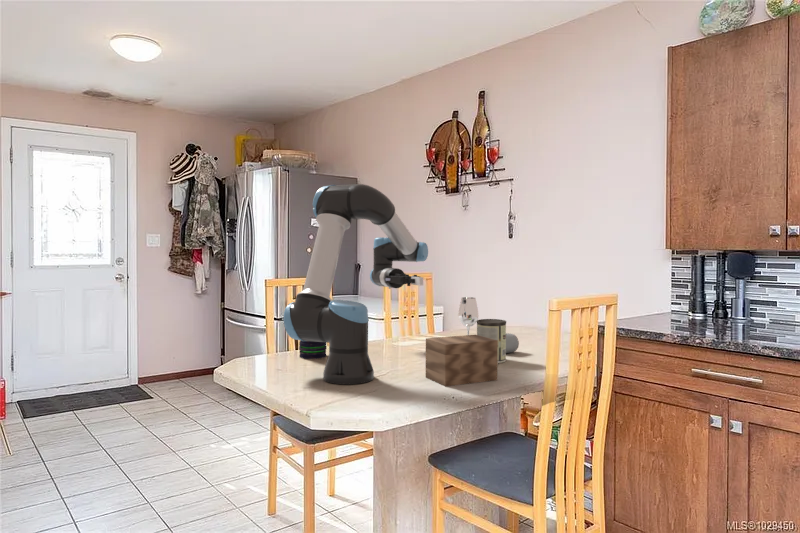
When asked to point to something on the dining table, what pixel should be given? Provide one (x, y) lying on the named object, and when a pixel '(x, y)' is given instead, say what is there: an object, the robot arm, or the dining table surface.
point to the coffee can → (494, 334)
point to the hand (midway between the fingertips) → (421, 281)
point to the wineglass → (468, 312)
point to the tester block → (461, 359)
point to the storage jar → (312, 349)
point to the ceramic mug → (511, 343)
